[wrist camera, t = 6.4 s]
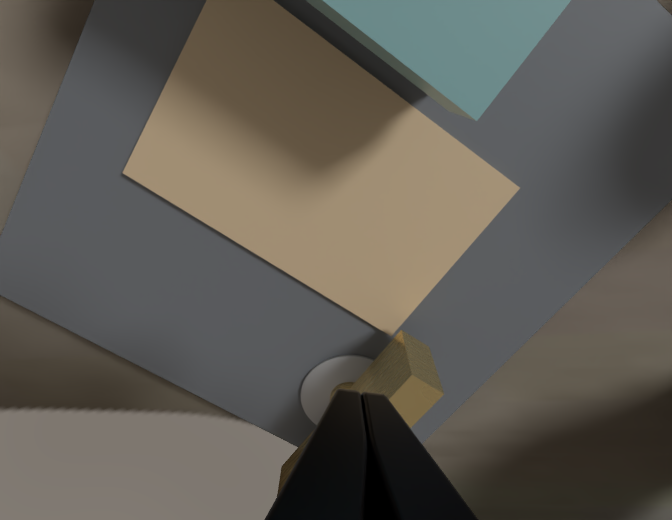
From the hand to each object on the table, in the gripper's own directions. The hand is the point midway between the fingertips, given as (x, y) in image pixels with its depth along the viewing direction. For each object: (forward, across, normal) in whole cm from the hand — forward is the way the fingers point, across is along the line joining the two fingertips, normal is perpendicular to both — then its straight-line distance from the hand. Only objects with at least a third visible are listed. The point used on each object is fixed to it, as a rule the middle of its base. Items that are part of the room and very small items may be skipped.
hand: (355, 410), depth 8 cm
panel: (+11, 0, -1) cm, 11 cm away
